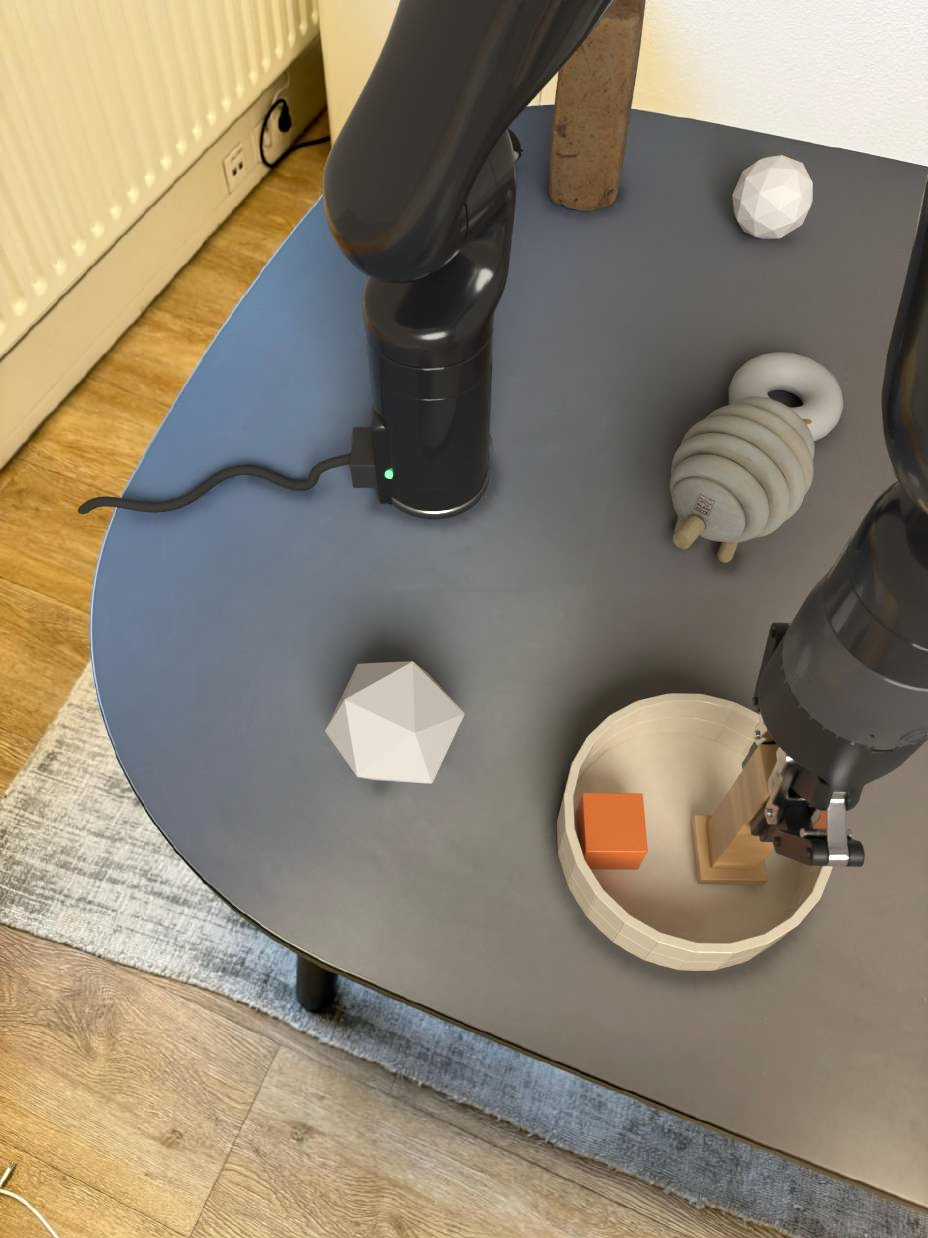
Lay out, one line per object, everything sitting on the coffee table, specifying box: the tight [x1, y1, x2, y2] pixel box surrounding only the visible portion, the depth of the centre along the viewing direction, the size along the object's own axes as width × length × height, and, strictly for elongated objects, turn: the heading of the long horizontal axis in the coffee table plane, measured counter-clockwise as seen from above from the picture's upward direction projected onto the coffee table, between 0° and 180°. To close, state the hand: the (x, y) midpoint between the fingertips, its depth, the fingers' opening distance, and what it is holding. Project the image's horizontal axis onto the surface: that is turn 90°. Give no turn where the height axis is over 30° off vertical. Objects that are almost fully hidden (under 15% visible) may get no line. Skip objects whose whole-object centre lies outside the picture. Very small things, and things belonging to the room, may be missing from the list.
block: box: [548, 0, 647, 212], centre depth 95 cm, size 11×8×20 cm
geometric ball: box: [731, 154, 814, 240], centre depth 97 cm, size 8×8×8 cm
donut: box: [728, 351, 844, 442], centre depth 86 cm, size 10×4×10 cm
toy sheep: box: [669, 396, 816, 563], centre depth 76 cm, size 11×17×11 cm, turn 147°
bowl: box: [556, 692, 834, 972], centre depth 65 cm, size 17×17×6 cm
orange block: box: [576, 793, 648, 870], centre depth 65 cm, size 4×4×4 cm
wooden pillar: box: [691, 744, 779, 885], centre depth 59 cm, size 4×4×15 cm
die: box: [324, 660, 466, 785], centre depth 67 cm, size 8×9×10 cm
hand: (763, 800), depth 57 cm, fingers closed on wooden pillar, 3 cm apart
